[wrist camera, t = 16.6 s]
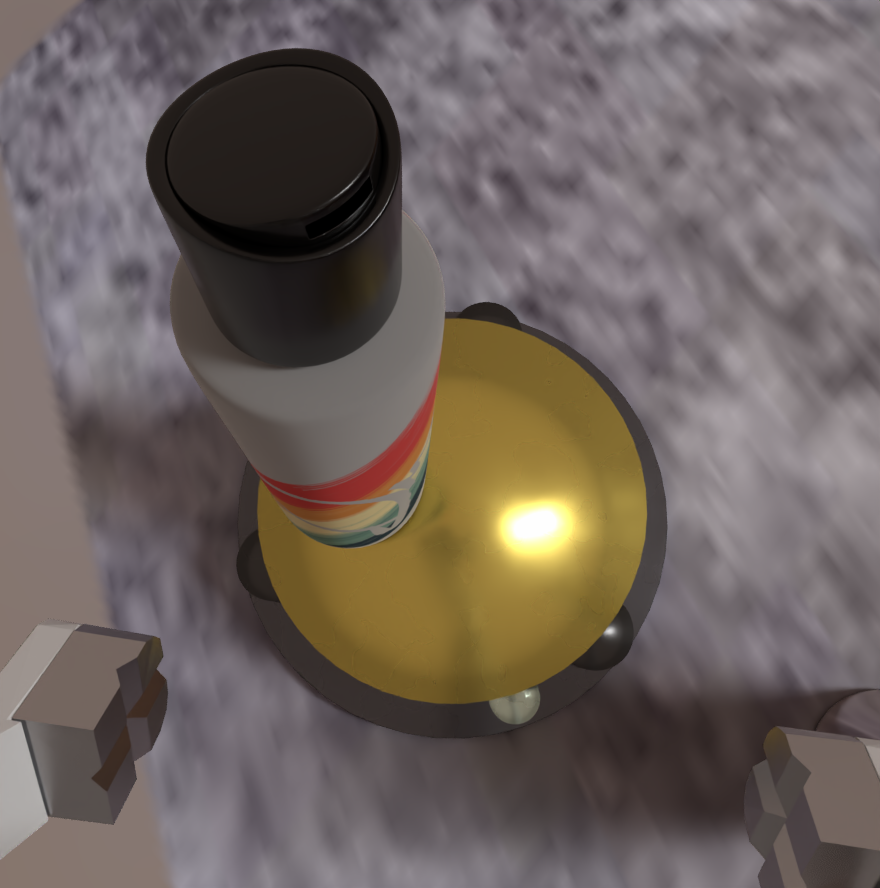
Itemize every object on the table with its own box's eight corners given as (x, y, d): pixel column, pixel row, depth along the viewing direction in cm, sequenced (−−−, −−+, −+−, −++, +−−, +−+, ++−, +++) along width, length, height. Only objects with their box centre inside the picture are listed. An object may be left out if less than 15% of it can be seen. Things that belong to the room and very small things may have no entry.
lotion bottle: (344, 583, 29) (241, 388, 10) (246, 474, 30) (-16, 112, 11) (455, 482, 31) (547, 143, 12) (357, 381, 32) (293, -84, 13)
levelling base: (730, 652, 32) (762, 654, 29) (306, 799, 31) (288, 818, 28) (575, 268, 36) (587, 231, 33) (197, 386, 35) (170, 360, 32)
